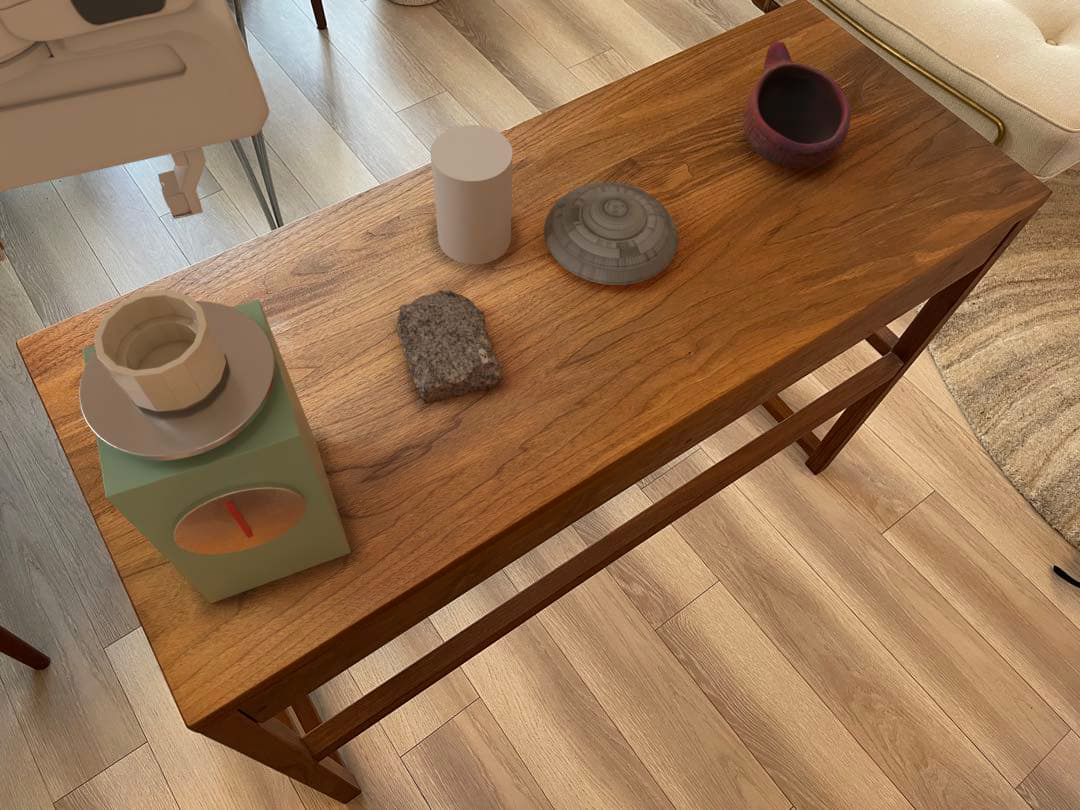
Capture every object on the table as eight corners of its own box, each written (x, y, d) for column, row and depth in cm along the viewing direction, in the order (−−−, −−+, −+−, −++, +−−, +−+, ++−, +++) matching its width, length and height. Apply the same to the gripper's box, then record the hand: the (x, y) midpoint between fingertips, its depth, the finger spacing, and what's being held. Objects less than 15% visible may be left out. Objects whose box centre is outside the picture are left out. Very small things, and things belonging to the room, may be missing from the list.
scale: (212, 612, 66) (92, 494, 47) (184, 483, 72) (68, 330, 52) (353, 560, 69) (296, 429, 49) (315, 440, 75) (251, 281, 55)
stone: (503, 389, 79) (503, 368, 76) (415, 409, 78) (411, 389, 74) (474, 298, 84) (473, 275, 81) (392, 315, 83) (388, 293, 80)
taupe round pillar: (522, 225, 91) (526, 140, 80) (490, 274, 87) (489, 191, 76) (459, 201, 92) (454, 115, 82) (424, 248, 88) (415, 164, 78)
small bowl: (133, 429, 49) (102, 389, 45) (118, 349, 52) (87, 306, 48) (236, 397, 50) (215, 357, 47) (216, 322, 53) (194, 277, 50)
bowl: (857, 157, 99) (884, 103, 92) (787, 200, 95) (809, 146, 88) (764, 89, 105) (783, 33, 99) (694, 125, 101) (708, 70, 94)
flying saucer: (673, 301, 86) (683, 267, 81) (535, 284, 86) (537, 249, 81) (677, 202, 94) (687, 166, 89) (551, 187, 94) (554, 150, 89)
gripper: (-447, 69, 24) (-142, 336, 36) (229, -43, 29) (304, 224, 41) (-413, -41, 27) (-141, 239, 39) (197, -126, 32) (275, 145, 44)
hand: (91, 231), depth 40 cm, fingers open, 8 cm apart
